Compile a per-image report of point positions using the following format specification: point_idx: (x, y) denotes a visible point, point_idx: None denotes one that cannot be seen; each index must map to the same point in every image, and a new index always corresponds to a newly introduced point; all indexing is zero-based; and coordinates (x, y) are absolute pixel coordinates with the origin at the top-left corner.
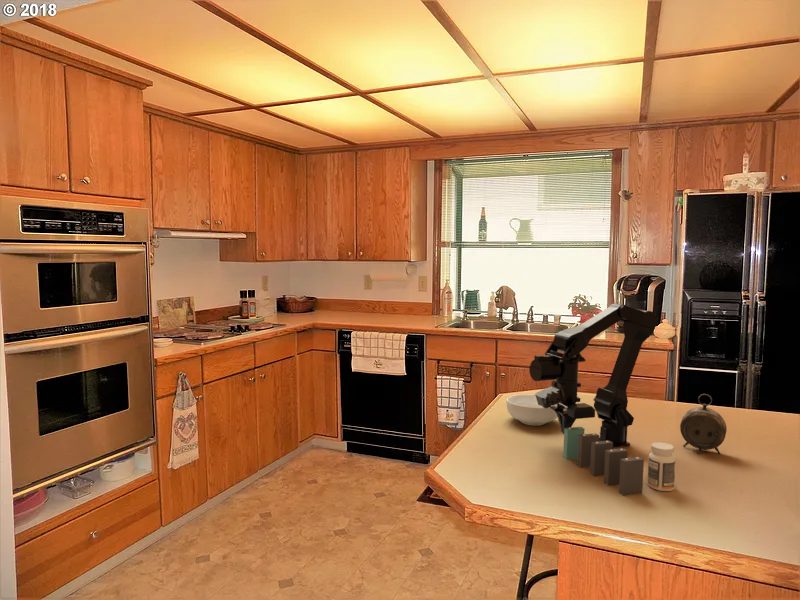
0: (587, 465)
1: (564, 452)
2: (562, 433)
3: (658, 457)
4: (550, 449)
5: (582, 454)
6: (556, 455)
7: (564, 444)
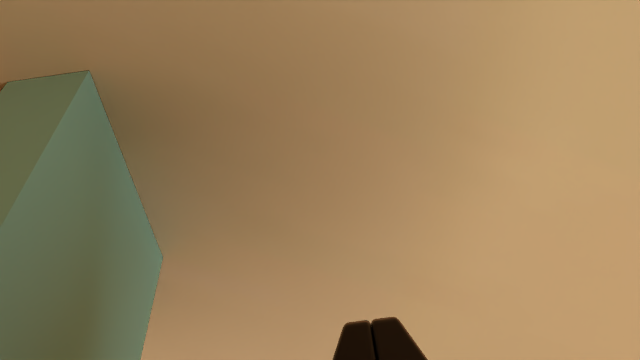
0: None
1: (36, 114)
2: (394, 317)
3: None
4: (405, 13)
5: None
6: (164, 7)
7: (3, 189)
